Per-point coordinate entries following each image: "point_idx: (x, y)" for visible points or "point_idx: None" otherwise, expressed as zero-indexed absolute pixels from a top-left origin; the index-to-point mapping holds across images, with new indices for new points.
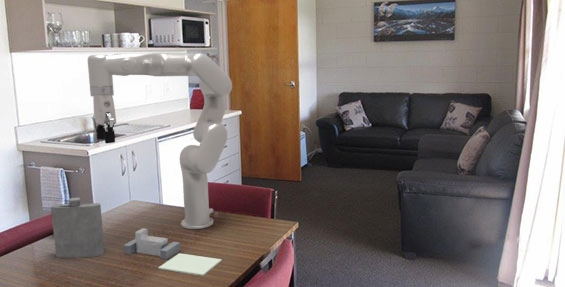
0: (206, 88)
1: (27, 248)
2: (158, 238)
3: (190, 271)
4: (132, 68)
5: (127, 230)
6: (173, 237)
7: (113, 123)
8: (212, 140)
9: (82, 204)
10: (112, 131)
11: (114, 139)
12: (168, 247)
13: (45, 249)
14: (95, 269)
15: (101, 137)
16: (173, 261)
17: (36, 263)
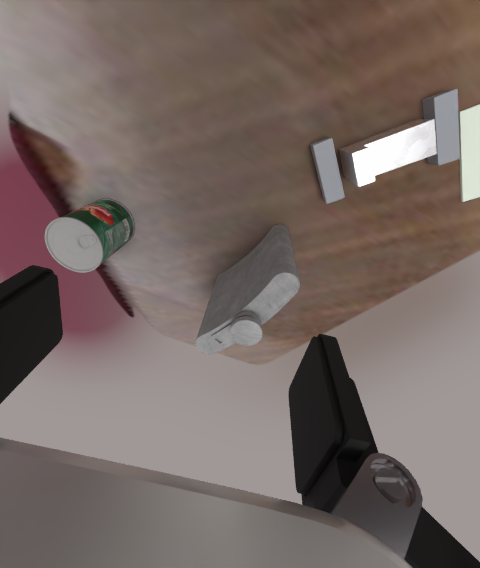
0: None
1: (143, 299)
2: (408, 138)
3: None
4: None
5: (187, 96)
6: (350, 27)
7: (244, 509)
8: None
9: (251, 304)
10: (382, 467)
11: (340, 357)
12: (448, 137)
13: (171, 283)
14: (339, 275)
15: (49, 322)
16: (477, 158)
17: None
